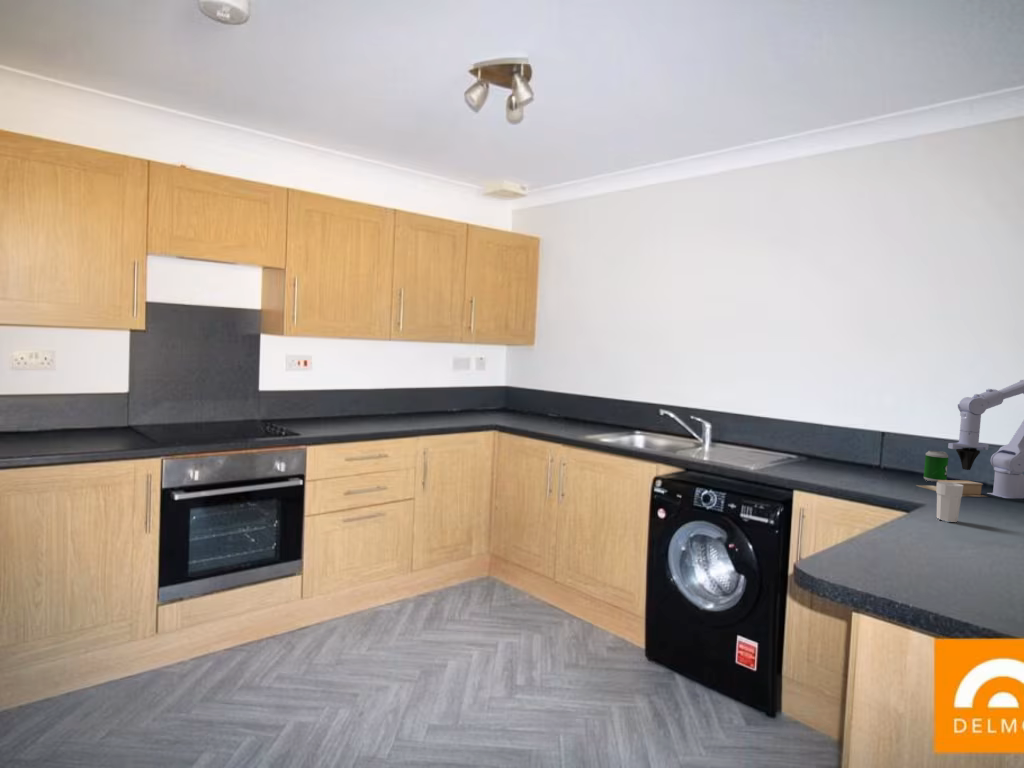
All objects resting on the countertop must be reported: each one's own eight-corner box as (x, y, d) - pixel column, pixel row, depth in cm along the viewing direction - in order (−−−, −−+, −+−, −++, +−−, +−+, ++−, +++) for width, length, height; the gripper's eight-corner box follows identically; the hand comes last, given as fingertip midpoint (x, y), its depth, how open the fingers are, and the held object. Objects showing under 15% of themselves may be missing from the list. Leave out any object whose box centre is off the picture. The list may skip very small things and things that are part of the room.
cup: (948, 524, 188) (951, 486, 188) (928, 518, 195) (931, 481, 194) (966, 523, 190) (969, 486, 190) (945, 517, 197) (948, 481, 196)
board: (948, 487, 246) (948, 485, 246) (988, 498, 229) (988, 496, 229) (915, 487, 244) (915, 485, 244) (953, 497, 227) (953, 496, 227)
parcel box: (966, 491, 237) (967, 481, 237) (980, 495, 231) (981, 485, 231) (937, 490, 235) (937, 481, 235) (950, 494, 229) (951, 484, 229)
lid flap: (967, 481, 237) (968, 480, 237) (982, 484, 230) (982, 483, 230) (937, 481, 235) (937, 479, 235) (951, 484, 228) (951, 483, 228)
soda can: (942, 484, 251) (945, 453, 250) (920, 481, 256) (923, 450, 256) (948, 482, 256) (951, 452, 255) (927, 479, 261) (929, 449, 261)
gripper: (977, 430, 236) (974, 467, 236) (942, 429, 233) (939, 466, 234) (995, 433, 229) (991, 471, 229) (959, 432, 226) (955, 470, 227)
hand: (966, 469), depth 231 cm, fingers closed
